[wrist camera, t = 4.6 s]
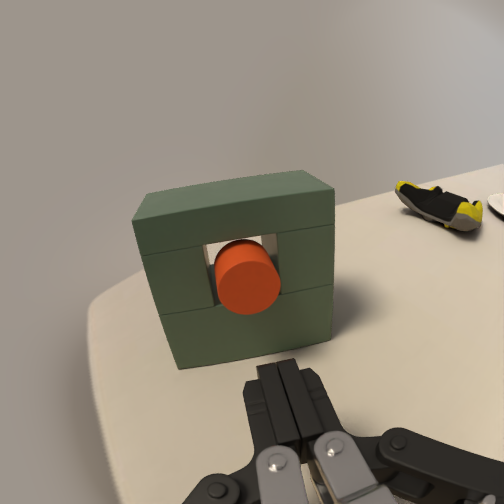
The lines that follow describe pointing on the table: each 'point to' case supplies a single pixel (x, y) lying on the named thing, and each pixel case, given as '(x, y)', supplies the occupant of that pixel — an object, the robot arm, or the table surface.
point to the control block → (231, 228)
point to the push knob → (246, 277)
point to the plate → (497, 202)
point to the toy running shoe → (441, 206)
